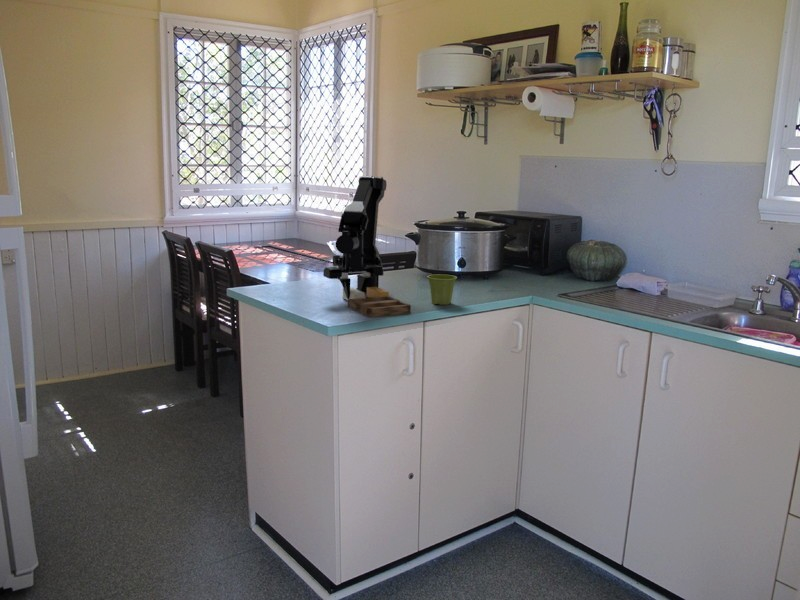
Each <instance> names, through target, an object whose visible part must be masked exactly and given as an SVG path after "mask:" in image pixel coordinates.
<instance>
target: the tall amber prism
mask: <svg viewBox="0 0 800 600" xmlns="http://www.w3.org/2000/svg"><path fill="white" fill-rule="evenodd" d="M382 296H390V293H389V291H387V290H386V289H383V288H381V287H379V286H378V287H367V292H366V298H367V297H368V298H370V297H382Z"/></svg>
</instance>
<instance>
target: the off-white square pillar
mask: <svg viewBox="0 0 800 600" xmlns="http://www.w3.org/2000/svg"><path fill="white" fill-rule="evenodd" d="M365 293H366V292H362V291H359V290H357V288H354V287H350V297H349V299H358V298H366V297H365ZM342 299H343V300H344V299H346V300H348V299H347V297H346V294H345V291H344V288H342ZM346 300H345V301H346Z"/></svg>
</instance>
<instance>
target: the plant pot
mask: <svg viewBox="0 0 800 600" xmlns="http://www.w3.org/2000/svg"><path fill="white" fill-rule="evenodd" d="M426 278H427V279H428V282H429V289H430V300H431V303H432V304H434V305H440V306H441V305H442V306H443V305H444V306H445V305H450V304H451V303H452V298H453V292H454V286H455V283H456V280H457V279H458V277H457V276H456V275H451V274H438V273H437V274H430V275H427V277H426Z"/></svg>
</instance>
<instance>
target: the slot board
mask: <svg viewBox="0 0 800 600" xmlns="http://www.w3.org/2000/svg"><path fill="white" fill-rule="evenodd" d="M348 306H349V307H350V308H349V307H348ZM347 307H348V308H349V309H351V308H352V309H351V310H353V309H354V311H355V310H356V312H357V311H358V313H359V312H360V313H359V314H361V313H362V315H363V314H364V315H363V316H366V317H367V318H372V317H382V316H393V315H404V314H411V313H412V311H411V310H412V309H411V307H412V305H411V304H409V303H407V302H404V301H402V300H400V299H397V298H395V297H392V296H390V295H389V296H382V297H370V298H367V297H364V298H358V299H348V301H347Z"/></svg>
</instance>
